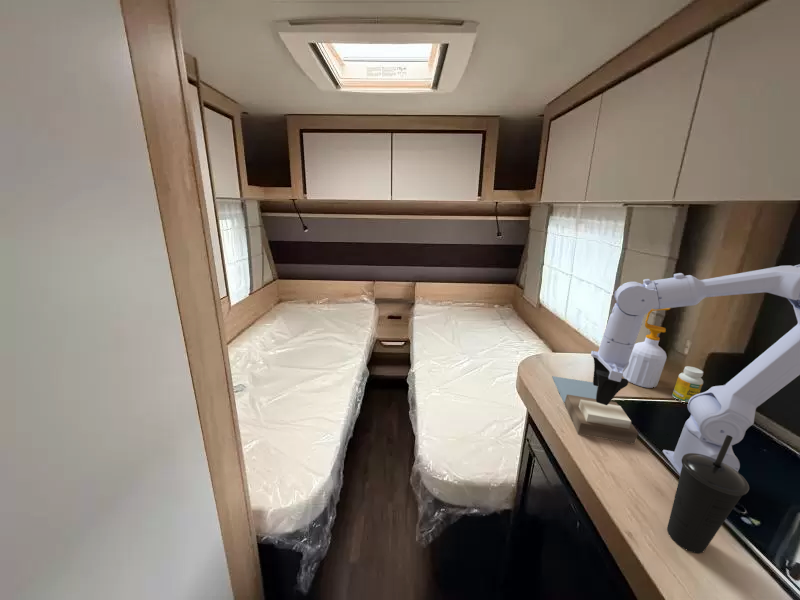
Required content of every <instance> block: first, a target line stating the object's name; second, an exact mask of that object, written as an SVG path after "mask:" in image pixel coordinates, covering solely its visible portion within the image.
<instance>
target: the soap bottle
mask: <svg viewBox="0 0 800 600" xmlns="http://www.w3.org/2000/svg"><path fill="white" fill-rule="evenodd" d="M669 310H671V308H665V309H657V310H655V309H651V310H650V311H649V312H648V313H647V315H646V319H645V322H644V327H645V328H646V329H648V331H649V332H650V333H649V334H646V335H645V338H644V341H641V342H640V341H639V342H637V343H636V342H635V345H634V348H633V350H632V353H631V356H630V359H629V365H628V367H627V368H626V369H625V370H624V372H623V376H622V378H624V379H627V380H628V383H631V384H632V383H633V385H635V386H637V387H640V388H645V389H646V388H647V389H648V388H649V389H653V387H654V388H656V387H657V386H658V384H659V381H660V379H661V376H662V373H663V370H664V367H665V364H666V362H667V353H666V351H665V350H664V349H663V348H662V347H661V346H659V342H660V339H661V338H660V337H659V336H658V334H661V333H666V332H667V331H666V330H667V329H666V327H663V326H658V325H654V324H650V323H648V321H649V318H650V315H651V313H652V312H655V311H669Z"/></svg>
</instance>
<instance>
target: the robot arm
mask: <svg viewBox="0 0 800 600" xmlns="http://www.w3.org/2000/svg"><path fill="white" fill-rule="evenodd" d="M642 282H643V283H640V282H638V281H628V282H625V283H622V284H621V285H619V287H618V288H617V290H615V291H614V295H613V296H614V299H615V301H616V302H615V303H614V305H613V306H612V310H611V313H610V314H609V317H608V320H607V323H606V326H605V329H604V333H603V336H602V339H601V341H600V345H599V347H598V351H595V350H591V352H590V356H591V357H592V358H593V364H594V365H593V366H594V367H593V369H594V370H593V378H592V382H593V385H594V386H597V387H598V388H597V394H596V402H597V403H600V404H604V405H608V404H609V403H610V401H611V402H612V400H613V399H614V397H615V396H616V395H617V393H619V391H621V390H622V389H624V388H626V387H627V386H628V384H629V381H628V380H627V379H625V378H624V377H623V372H624V370H625V369H626V368H627V367H628V365H629V359H630V356H631V353H632V350H633V348H634V345H635V344H636V341H637V339H638V336H639V334H640V330H641V329H642V325H643V320H644V318H645V315H646V314H648V312H649V311H650V310H651V309H655V310H656V311H658V310H657V309H665V308H670V309H673V308H682V307H691V306H696V305H698V304H699V303H700V302H702V300H704V299H706V298H711V297H712V298H713V297H723V296H726V297H727V296H735V295H737V296H738V295H746V294H747V295H748V294H759V293H760V294H761V293H768V294H771V295H775V296H779V297H781V298H785V299H787V300H788V302H789V303H790V304H791V305H792V306H793V310H794V314H795V317H796V321H797V324H796V325H794V326H793V327H792V328H791V329H790V330H789V331H788V332H786V333H785V334H784V335H783V336H781V337H780V338H779V339H778V340H776V342H774V343H773V344H771V346H769V347H768V348H767V349H766V350H765V351H764V352H762V353H761V354H759V356H758V357H756V358H755V359H754V360H753V361H752V362H750V363H749V364H748V365H747V366H745V367H744V368H743V369H742V370H741V371H740V372H738V373H737V374H736V375H735V376H734V377H732V378H731V379H730V380H729V381H727V382H726V383H725V384H723V385H715V386H711V387H710V388H709V389H708V390H706V391H703V392H700V393H699V394H696V395H694V396H692V397H691V398H690V399H689V401H688V404H686V405H687V410H688V412H689V413H690V416H689V418H688V419H687V420H686V421H685V423H684V425H683V428H682V431H681V433H680V437H679V438H678V441H677V444H676V446H675V449H674V451H673V450H669V449H668V450H667V449H663V450H662V453H663V454H664V456H665V457H666V459H668V461H669V462H670V465H672V466H673V468H674V469H675V470H676V472H677V473H678V475H680V473H681V469H682V457H683V456H684V455H685V454H688V453H696V454H702V455H705V456H709V457H711V458H714V459H717V456H718V454H719V452H720V449H721V447H722V445H723V442H724V440H725V438H726V436H727V435H729V436H731V437H733V439H732V441H731V443H730V445H729V448H728V450H727V452H726V455H725V457H724V459H723V461H722V462H723V463H724V464H726V465H728V466H730V467H731V468H733V469H734V470H736V471H737V472H738V473H739V470H740V468H741V463H740V460H739V459H738V457H737V456H736V455H735V453H734V450H733V446H734V445H736V444H739V443H740V442H741V441H742V440H743V439H744V437H745V435H746V431H747V430H748V429H749V428H750V427H751V426H753V425H754V423H755V415H756V410H757V408H758V407H760V406H761V405H762V404H764V403H765V402H766V401H767V400H768V399H770V398H772V396H774V395H775V394H776V393H778V392H779V391H780V390H781V389H783V388H784V387H786V386H787V385H788V384H790V383H792V381H794V380H795V379H796V378H797V377H799V376H800V264H796V265H779V266H772V267H767V268H763V269H756V270H749V271H743V272H740V273H735V274H733V273H732V274H728V275H727V274H726V275H721V276H716V277H710V278H704V279H699V278H697V277H695V276H693V275H691V274H688V275H685V274H684V273H682V272H678V273H674V274H673V277H669V278H661V279H655V280H654V279H653V280H651V279H650V278H645V279H643V280H642Z"/></svg>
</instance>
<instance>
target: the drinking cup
mask: <svg viewBox="0 0 800 600" xmlns="http://www.w3.org/2000/svg"><path fill="white" fill-rule="evenodd" d="M732 439H733V437H731V436H729V435H727V436H726V438H725V440H724V442H723V445H722V447H721V449H720V452H719V454H718V456H717V459H714V458H711V457H709V456H705V455H702V454H696V453H688V454H685V455H684V456H683V457H682V469H681V473H680V474H679V479H678V483H677V486H676V490H675V493H674V494H675V495H674V498H673V502H672V506H671V511H670V515H669V518H668V523H667V527H666V530H667V534H668V535H670V536H669V537H670V538H671V539H672V540H673V541H674V543H676V544H677V545H678V546H679V547H681V548H682V549H684V550H686V549H687V550H686V551H688V552H690V553H694V554H702V553H703V551H705V550H706V549H707V548H708V545H709V544H710V543H711V542H712V540H713V539H714V538H715V536H716V534H717V533H718V531H719V530H720V528H721V527H722V526H723V524H724V523H725V521H726V520H727V519H728V517H729V515H730V514H731V512H732V511H733V509H734V508H735V506H737V504H738V503H739V501H740V499H741V498H742V497H743V496H745V495H747V494H748V493H749V491H750V485H749V482H748V481H747V479H746V478H745V477H744V476H743V475H742V474H741V473H740V472H739V471H738V472H737V471H736V470H734V469H733V468H731V467H730V466H728V465H726V464H724V463H723V462H722V461H723V459H724V457H725V455H726V452H727V450H728V448H729V445H730V443H731V441H732Z"/></svg>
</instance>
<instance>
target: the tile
mask: <svg viewBox="0 0 800 600" xmlns="http://www.w3.org/2000/svg"><path fill="white" fill-rule="evenodd" d="M579 408H580V410H581V412H582V414H583V416H584V418H585V420H586V422H592V423H598V424H604V425H610V426H615V427H621V428H627V429H629V427H630V424H632V420H631V419H630V418H629V416H628V415H627V413H626V412H625V410H624V409H623V408H622V406H621V405H619V406H617V405H611V404H608V405H604V404H600V403H597V402H593V401H586V400H580V403H579Z"/></svg>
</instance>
